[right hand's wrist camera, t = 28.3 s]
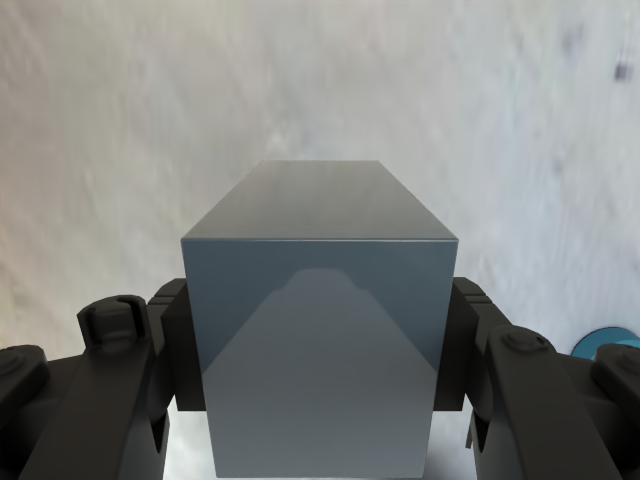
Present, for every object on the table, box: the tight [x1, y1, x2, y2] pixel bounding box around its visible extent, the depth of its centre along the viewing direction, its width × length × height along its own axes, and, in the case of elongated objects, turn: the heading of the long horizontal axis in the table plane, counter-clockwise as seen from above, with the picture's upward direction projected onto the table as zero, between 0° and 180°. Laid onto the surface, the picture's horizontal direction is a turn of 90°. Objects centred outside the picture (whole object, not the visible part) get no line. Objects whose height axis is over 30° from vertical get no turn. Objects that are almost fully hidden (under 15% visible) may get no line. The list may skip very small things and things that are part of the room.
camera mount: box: [572, 328, 640, 360], centre depth 51 cm, size 18×10×10 cm, turn 27°
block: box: [181, 161, 459, 478], centre depth 13 cm, size 7×6×10 cm
